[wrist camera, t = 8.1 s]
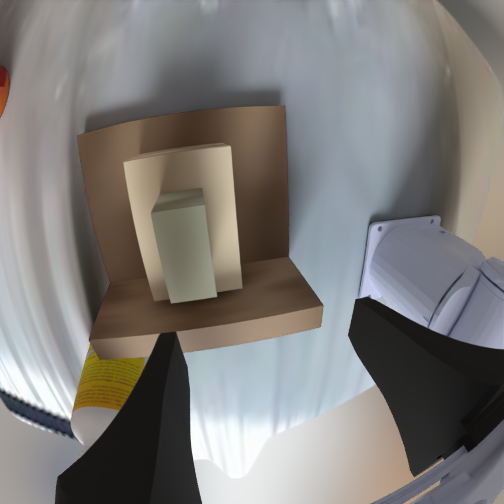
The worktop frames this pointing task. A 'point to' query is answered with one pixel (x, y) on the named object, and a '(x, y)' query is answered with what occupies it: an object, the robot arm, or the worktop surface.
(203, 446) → the worktop surface
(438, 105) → the worktop surface
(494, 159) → the worktop surface
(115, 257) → the cleat board
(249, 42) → the worktop surface
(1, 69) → the coffee cup
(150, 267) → the saddle block
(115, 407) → the supplement bottle
